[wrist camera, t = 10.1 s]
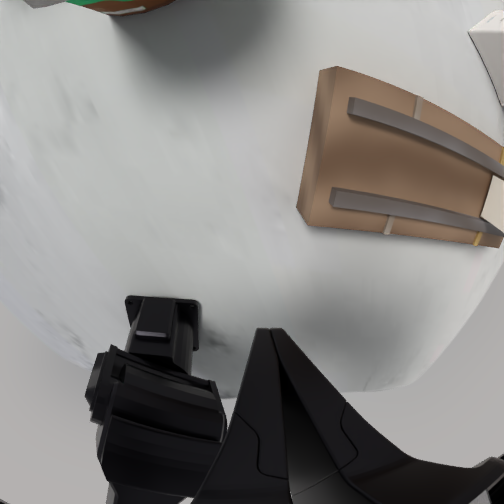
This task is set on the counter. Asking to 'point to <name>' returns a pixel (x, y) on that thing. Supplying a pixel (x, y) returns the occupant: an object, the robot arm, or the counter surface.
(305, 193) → the slider track
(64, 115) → the counter surface
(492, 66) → the tall white carton
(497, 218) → the slider tab
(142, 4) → the food container
